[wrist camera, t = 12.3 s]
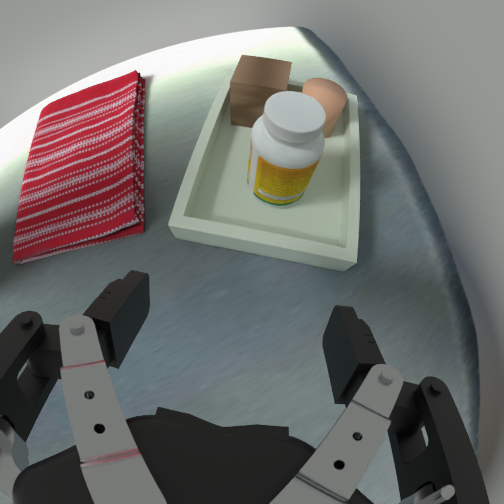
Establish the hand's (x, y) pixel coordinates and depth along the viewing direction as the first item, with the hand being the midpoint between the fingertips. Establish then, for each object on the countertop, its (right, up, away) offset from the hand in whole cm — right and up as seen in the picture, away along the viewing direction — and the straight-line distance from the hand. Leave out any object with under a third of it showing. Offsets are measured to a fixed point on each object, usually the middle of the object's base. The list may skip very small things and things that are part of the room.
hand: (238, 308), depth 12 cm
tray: (+3, +11, +15) cm, 19 cm away
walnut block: (+1, +17, +16) cm, 24 cm away
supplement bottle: (+3, +8, +14) cm, 16 cm away
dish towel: (-20, +13, +16) cm, 28 cm away
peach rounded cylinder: (+7, +16, +16) cm, 24 cm away
